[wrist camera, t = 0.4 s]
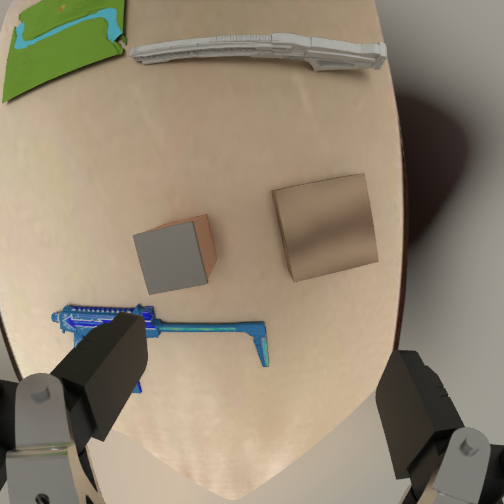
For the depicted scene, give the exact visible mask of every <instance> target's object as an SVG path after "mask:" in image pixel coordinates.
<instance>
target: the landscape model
mask: <svg viewBox="0 0 504 504" xmlns="http://www.w3.org/2000/svg"><path fill="white" fill-rule="evenodd" d="M124 1H125V0H42V1H40V2H38V3H37V4H35V5H33V6H31V7H30V8H28V9H26V10H24V11H23V12H21V14H19V20H20V21H21V22H22V23H21V24H20V25H19V26H18V27H17V28H16V27H15V28H14V31H13V35H12V40H11V44H10V49H9V54H8V59H7V66H6V75H5V82H4V90H3V100H2V103H4V102H6V101H8V100H9V99H11V98H13V97H15V96H17V95H19V94H21V93H23V92H25V91H27V90H29V89H31V88H33V87H35V86H37V85H39V84H42V83H44V82H46V81H48V80H50V79H53V78H56V77H58V76H60V75H63V74H65V73H67V72H70V71H72V70H75V69H77V68H80V67H82V66H85V65H88V64H91V63H93V62H96V61H99V60H102V59H104V58H108V57H111V56H114V55H118V54H122V52H123V48H122V47H121V44H119V43H118V42H117V40H116V38H117V37H118V36H119V37H120V38H121V39H122V40H123V42H124V43H125V45H126V39H125V37H124V35H123V15H124ZM124 50H125V49H124Z"/></svg>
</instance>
